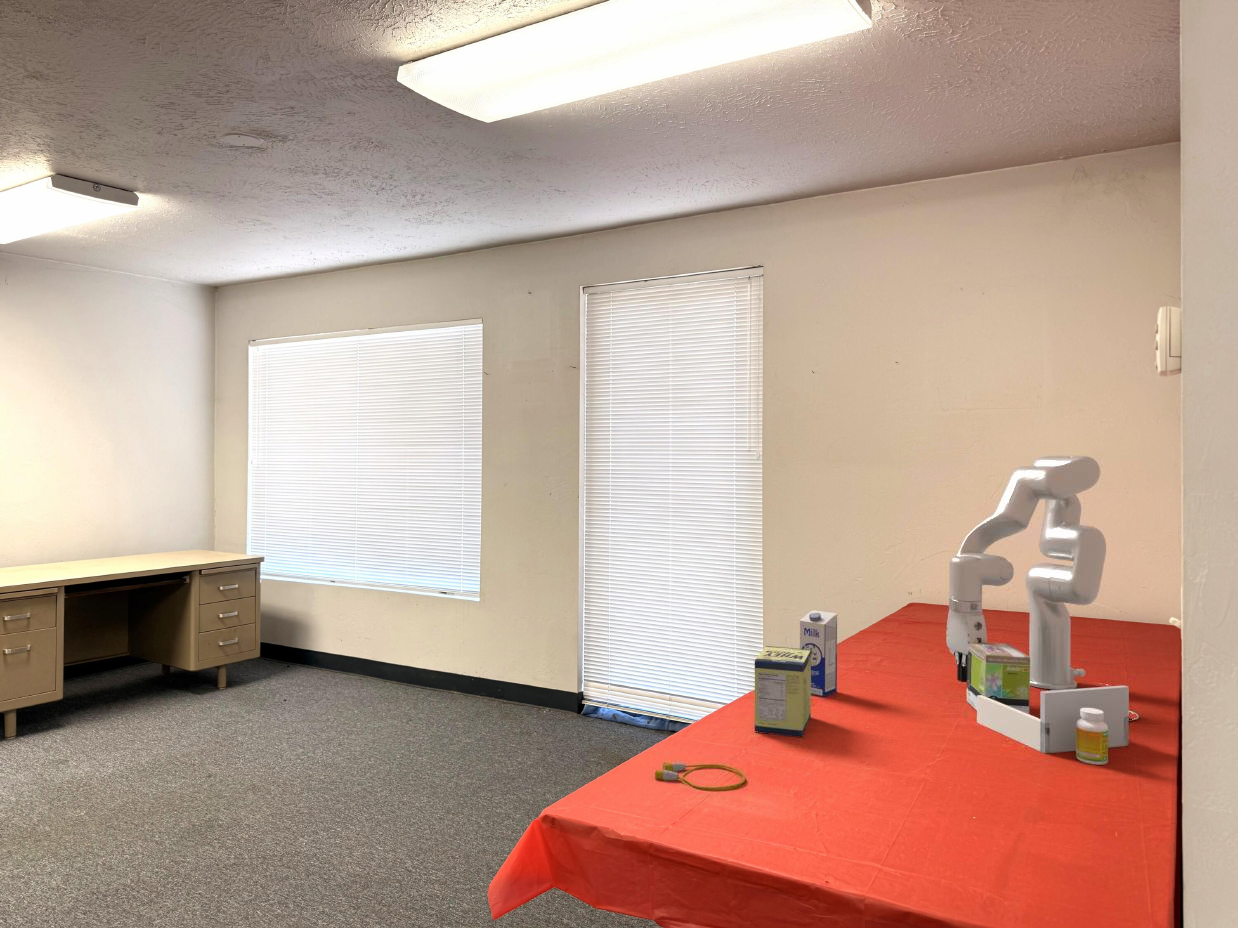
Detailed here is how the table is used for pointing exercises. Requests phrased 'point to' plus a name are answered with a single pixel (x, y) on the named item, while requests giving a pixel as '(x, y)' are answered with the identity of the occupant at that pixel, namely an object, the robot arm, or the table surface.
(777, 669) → the protein box
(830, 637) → the milk carton
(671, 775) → the extension cord
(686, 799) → the table surface
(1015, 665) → the tea box
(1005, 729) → the display bay
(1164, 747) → the table surface
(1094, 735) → the supplement bottle
